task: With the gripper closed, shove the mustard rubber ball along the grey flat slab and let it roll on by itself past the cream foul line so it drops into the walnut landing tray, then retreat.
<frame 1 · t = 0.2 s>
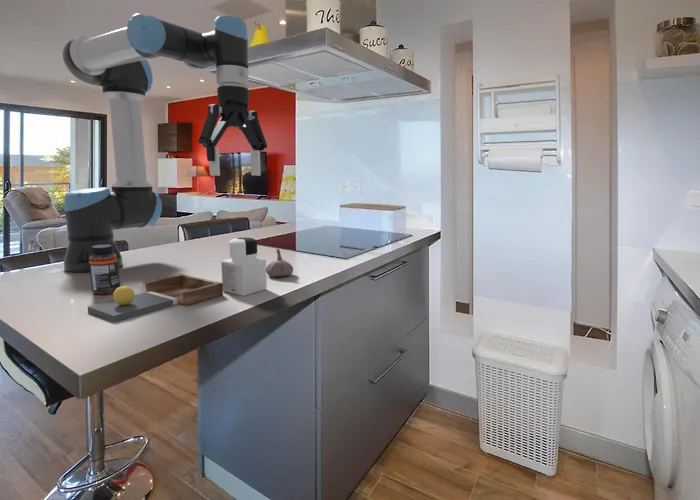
hand: (236, 175, 107), 28 cm above the table, tool pointing down, fingers open, 13 cm apart
supplement bottle: (106, 292, 102), on the table
garlic bulb: (279, 276, 119), on the table
ball: (124, 295, 88), point 3 cm above the table, touching grey flat slab
container: (244, 291, 104), on the table
grey flat slab: (134, 307, 90), on the table
tray: (184, 295, 100), on the table
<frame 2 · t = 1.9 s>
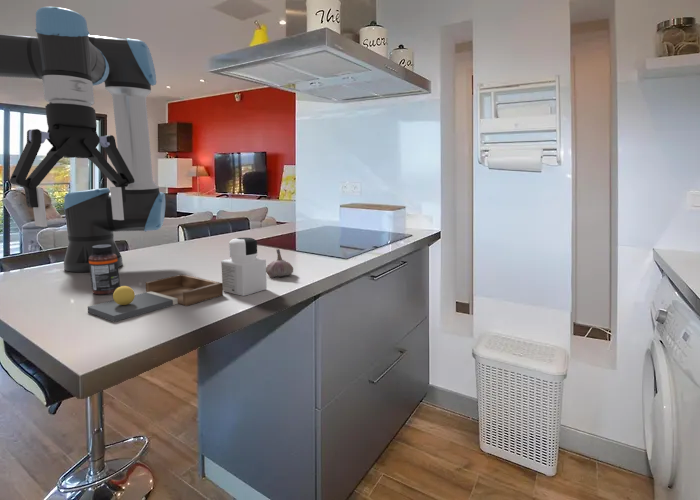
hand: (82, 222, 79), 19 cm above the table, tool pointing down, fingers open, 13 cm apart
nothing on the table moved.
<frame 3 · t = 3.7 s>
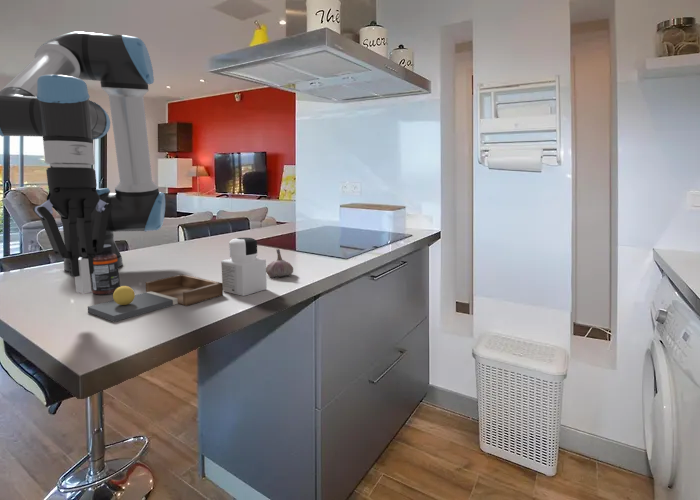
hand: (83, 291, 81), 6 cm above the table, tool pointing down, fingers closed
nothing on the table moved.
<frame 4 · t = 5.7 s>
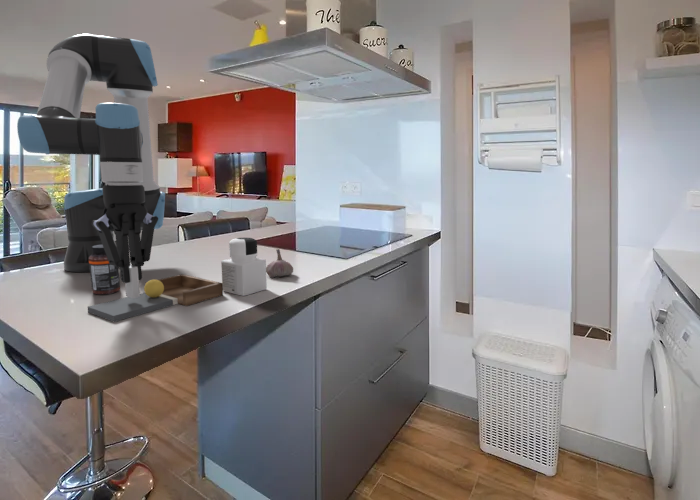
hand: (133, 296, 90), 3 cm above the table, tool pointing down, fingers closed
ball: (154, 288, 93), point 3 cm above the table, tilted 169°, touching grey flat slab
everything else where it was.
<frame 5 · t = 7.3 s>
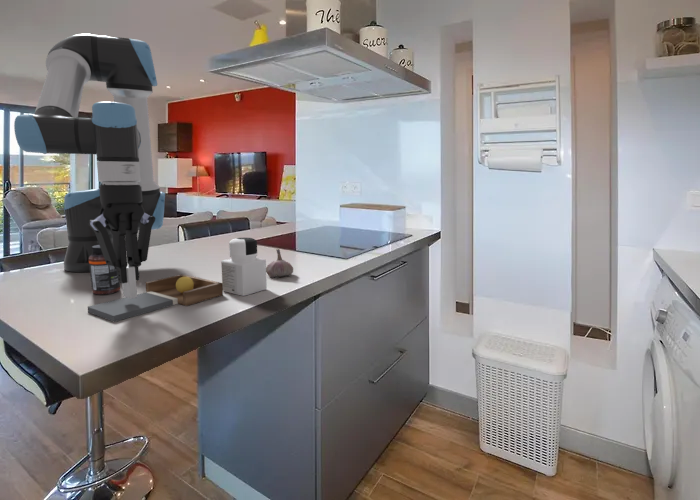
hand: (130, 296, 89), 3 cm above the table, tool pointing down, fingers closed
ball: (184, 284, 100), point 2 cm above the table, tilted 63°, touching tray
everything else where it was.
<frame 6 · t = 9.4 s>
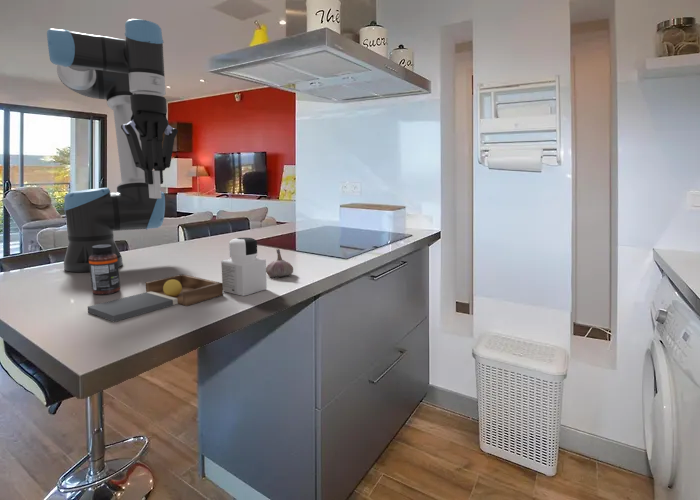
hand: (155, 198, 102), 22 cm above the table, tool pointing down, fingers closed
ball: (172, 288, 97), point 2 cm above the table, tilted 30°, touching tray
everything else where it was.
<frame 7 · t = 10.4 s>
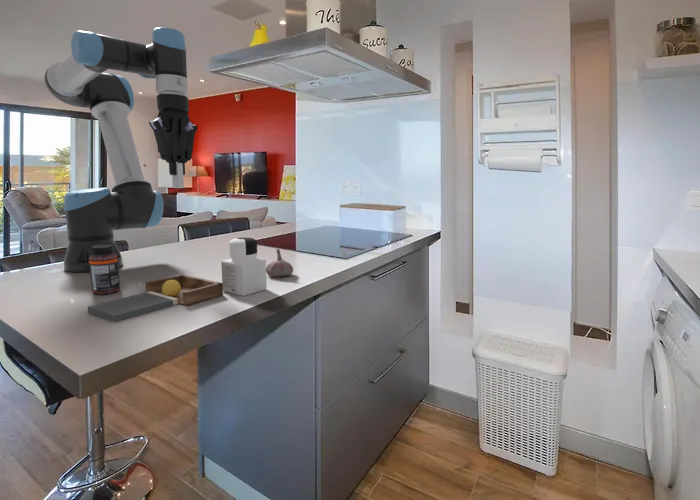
hand: (178, 187, 113), 24 cm above the table, tool pointing down, fingers closed
ball: (171, 288, 97), point 2 cm above the table, tilted 39°, touching tray
everything else where it was.
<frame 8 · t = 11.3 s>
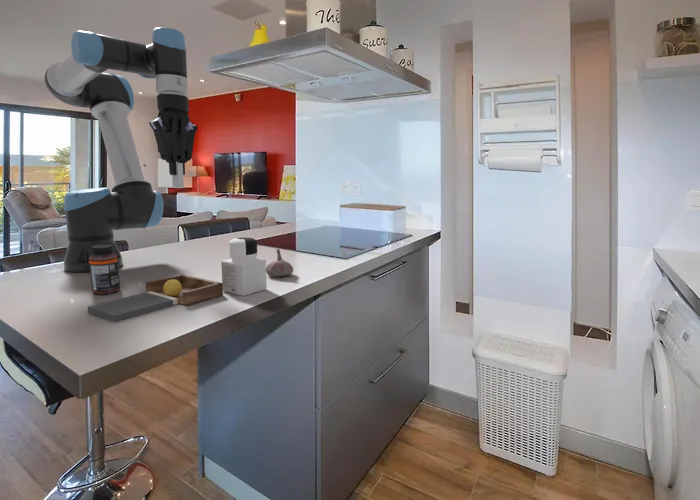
hand: (178, 187, 113), 24 cm above the table, tool pointing down, fingers closed
ball: (172, 288, 97), point 2 cm above the table, tilted 30°, touching tray
everything else where it was.
at the end: ball inside the target area (2.6 cm from its centre), point 2.3 cm above the table; the gripper is holding nothing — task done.
